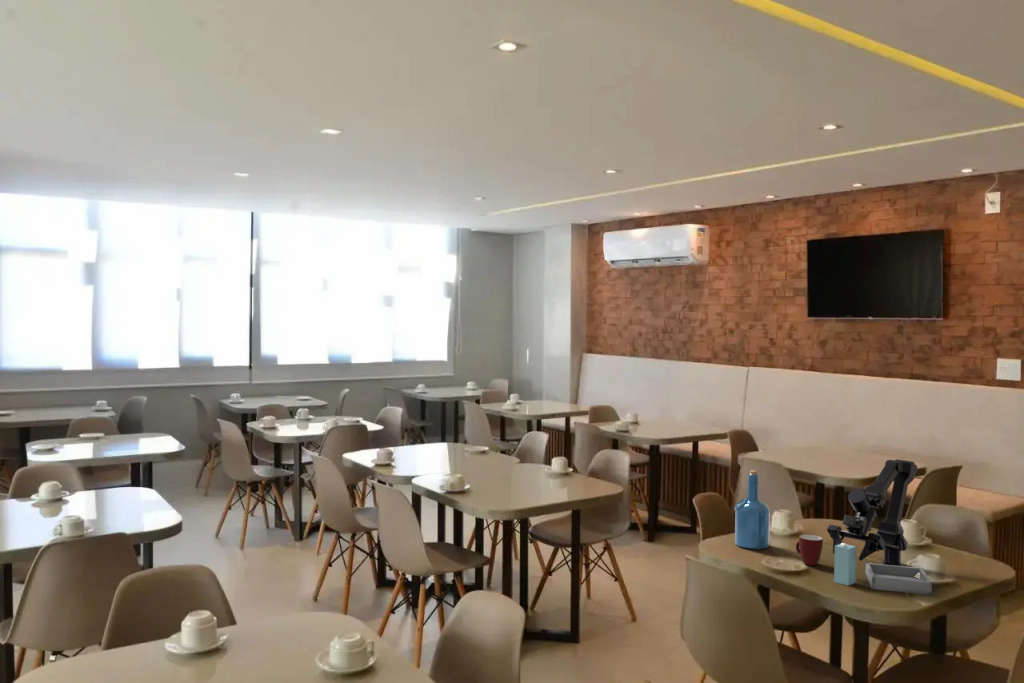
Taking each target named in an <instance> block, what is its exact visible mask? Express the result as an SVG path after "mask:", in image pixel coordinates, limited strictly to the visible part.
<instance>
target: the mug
mask: <svg viewBox="0 0 1024 683" xmlns="http://www.w3.org/2000/svg"><path fill="white" fill-rule="evenodd" d="M823 540H824V539H823V537H821V536H818V535H815V534H800V535H799V537H798V541H797V542H796V543H795V550H796V552H797V553H798V554H799V555H800V556H801V559H802V561H803V564H805V563H806V564H808V565H807V566H809V567H810V566H811V567H814V566H817V564H818V562H819V561H820V559H821V555H822V552H823V551H822V550H823V544H824V542H823ZM806 564H805V565H806Z"/></svg>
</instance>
